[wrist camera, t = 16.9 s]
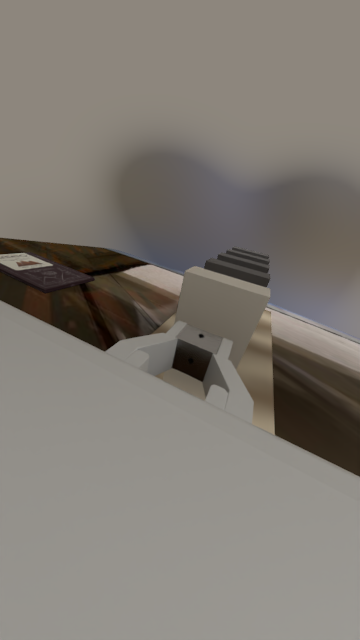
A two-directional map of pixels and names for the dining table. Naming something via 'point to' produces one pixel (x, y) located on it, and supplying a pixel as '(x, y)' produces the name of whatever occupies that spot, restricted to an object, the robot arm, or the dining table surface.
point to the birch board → (253, 371)
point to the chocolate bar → (41, 272)
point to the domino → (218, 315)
